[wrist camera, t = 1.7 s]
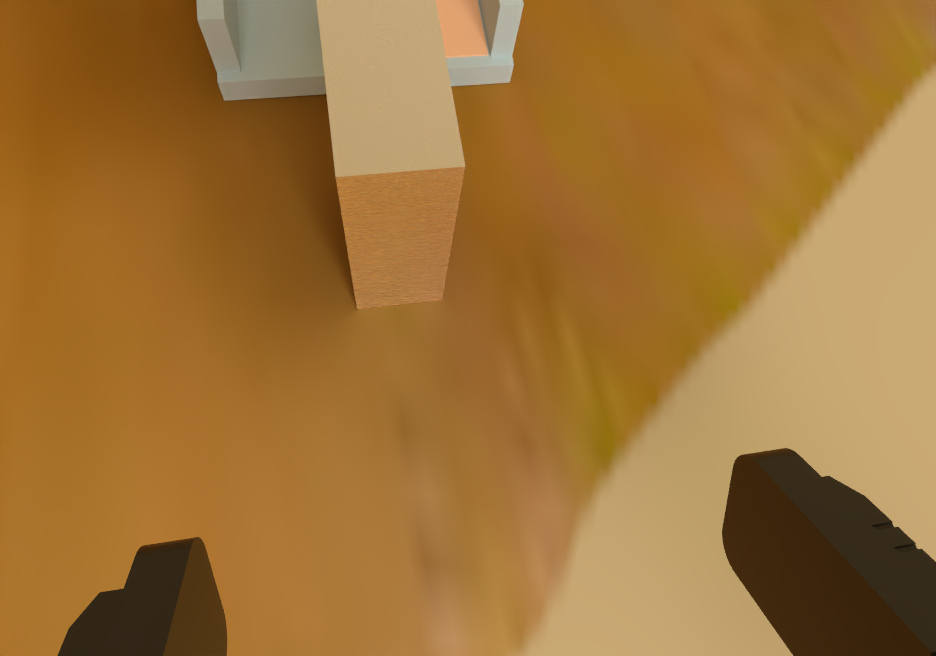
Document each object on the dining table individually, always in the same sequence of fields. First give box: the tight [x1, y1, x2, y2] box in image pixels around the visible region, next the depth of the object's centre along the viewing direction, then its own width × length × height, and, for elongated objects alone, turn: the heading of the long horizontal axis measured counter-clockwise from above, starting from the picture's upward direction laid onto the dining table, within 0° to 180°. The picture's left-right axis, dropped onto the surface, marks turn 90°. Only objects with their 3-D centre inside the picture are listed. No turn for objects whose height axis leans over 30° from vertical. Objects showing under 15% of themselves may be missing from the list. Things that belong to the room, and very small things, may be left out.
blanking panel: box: [316, 0, 465, 309], centre depth 24 cm, size 6×4×10 cm, turn 9°
